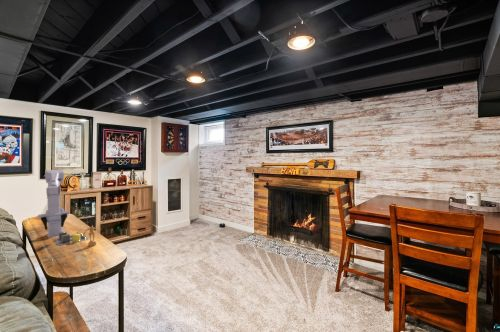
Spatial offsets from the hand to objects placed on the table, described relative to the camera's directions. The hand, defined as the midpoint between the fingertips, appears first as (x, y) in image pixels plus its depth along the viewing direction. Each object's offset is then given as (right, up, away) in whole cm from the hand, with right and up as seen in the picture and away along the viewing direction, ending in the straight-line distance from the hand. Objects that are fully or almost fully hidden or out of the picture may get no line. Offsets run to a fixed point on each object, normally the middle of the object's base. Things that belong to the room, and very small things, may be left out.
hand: (54, 228), depth 146 cm
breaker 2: (+7, -8, 0) cm, 10 cm away
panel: (+7, -9, +4) cm, 12 cm away
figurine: (+26, -10, -4) cm, 28 cm away
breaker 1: (+1, -8, +5) cm, 9 cm away
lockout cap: (+13, -8, +1) cm, 15 cm away
